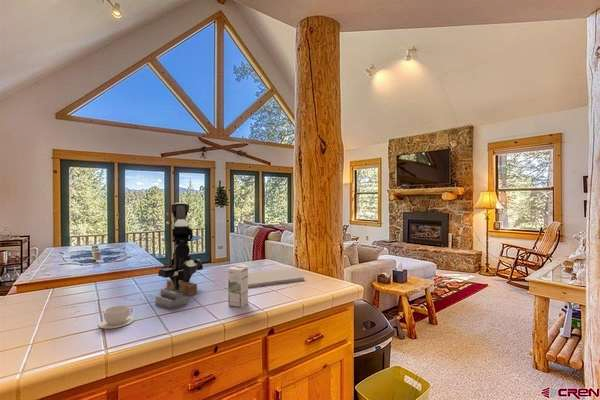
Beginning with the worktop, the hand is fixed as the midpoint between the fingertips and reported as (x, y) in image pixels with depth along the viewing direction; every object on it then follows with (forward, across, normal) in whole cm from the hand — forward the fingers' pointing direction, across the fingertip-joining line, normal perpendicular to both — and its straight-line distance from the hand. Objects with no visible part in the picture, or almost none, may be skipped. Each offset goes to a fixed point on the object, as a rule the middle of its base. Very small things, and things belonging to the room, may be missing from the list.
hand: (181, 288), depth 132 cm
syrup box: (+1, +2, -33) cm, 33 cm away
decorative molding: (+2, +33, -22) cm, 40 cm away
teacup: (+2, -32, -12) cm, 35 cm away
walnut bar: (+1, 0, 0) cm, 1 cm away
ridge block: (+1, -12, -11) cm, 16 cm away
